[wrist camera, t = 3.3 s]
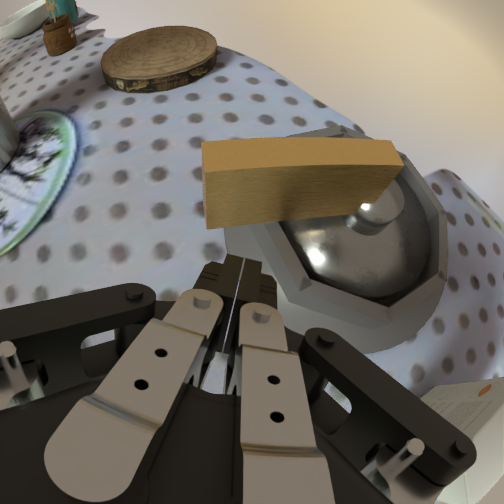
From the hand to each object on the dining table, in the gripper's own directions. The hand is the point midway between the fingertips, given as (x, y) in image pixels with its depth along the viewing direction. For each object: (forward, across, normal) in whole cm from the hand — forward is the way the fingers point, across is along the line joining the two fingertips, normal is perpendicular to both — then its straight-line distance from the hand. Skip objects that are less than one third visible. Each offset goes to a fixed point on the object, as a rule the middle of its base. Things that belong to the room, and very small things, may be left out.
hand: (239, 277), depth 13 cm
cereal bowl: (+43, +69, -30) cm, 86 cm away
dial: (+12, -6, 0) cm, 14 cm away
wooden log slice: (+28, +18, -14) cm, 36 cm away
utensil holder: (+32, +41, -19) cm, 56 cm away
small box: (+2, -17, +12) cm, 21 cm away
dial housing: (+14, -8, 0) cm, 16 cm away
